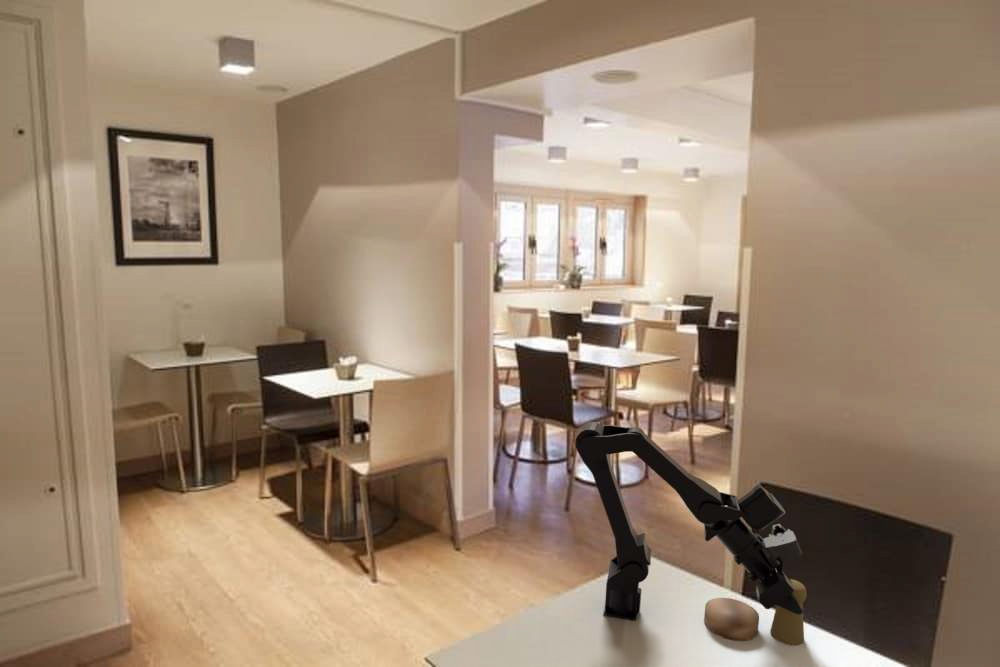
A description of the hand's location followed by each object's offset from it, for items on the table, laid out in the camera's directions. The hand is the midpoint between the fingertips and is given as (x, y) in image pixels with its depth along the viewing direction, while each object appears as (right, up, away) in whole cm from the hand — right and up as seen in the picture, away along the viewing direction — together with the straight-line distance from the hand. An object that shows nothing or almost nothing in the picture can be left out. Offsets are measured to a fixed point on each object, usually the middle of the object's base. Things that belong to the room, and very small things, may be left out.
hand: (798, 605), depth 125 cm
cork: (-2, -7, +1) cm, 7 cm away
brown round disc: (-11, -6, +4) cm, 13 cm away
